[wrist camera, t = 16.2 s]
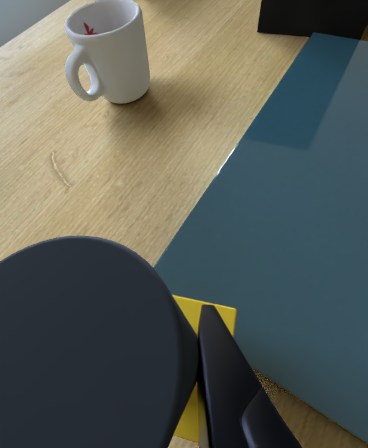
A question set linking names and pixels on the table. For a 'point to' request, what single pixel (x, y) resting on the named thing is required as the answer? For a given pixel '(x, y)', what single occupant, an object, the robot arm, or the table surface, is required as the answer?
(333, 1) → the speaker
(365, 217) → the plate
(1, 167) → the table surface
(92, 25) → the cup
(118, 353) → the sponge wand
